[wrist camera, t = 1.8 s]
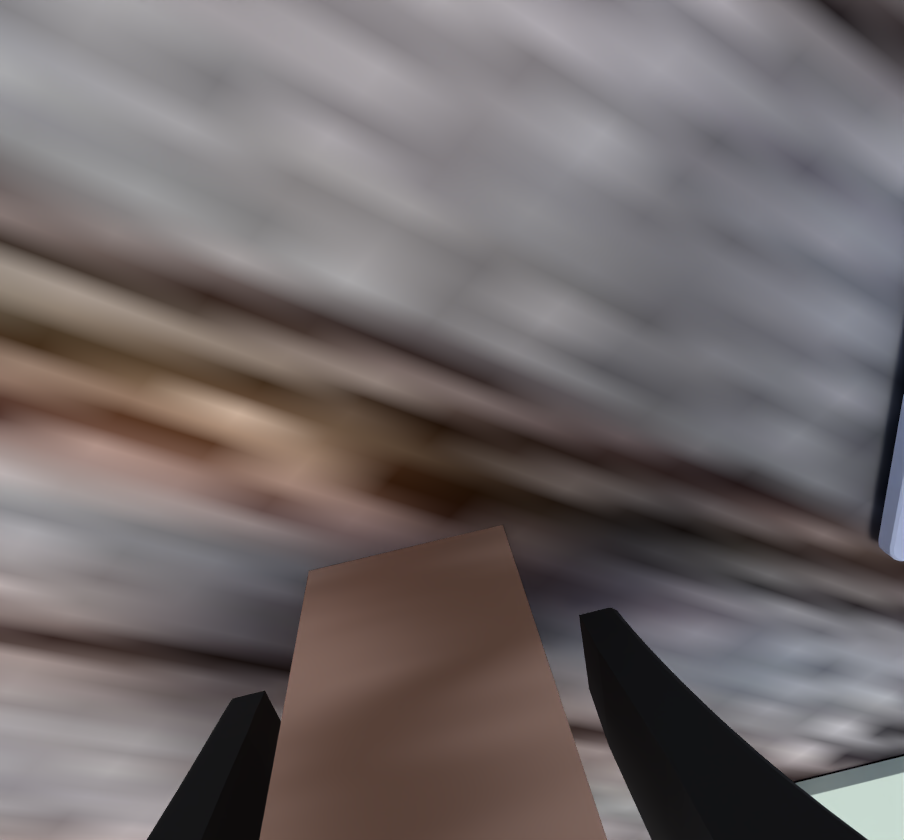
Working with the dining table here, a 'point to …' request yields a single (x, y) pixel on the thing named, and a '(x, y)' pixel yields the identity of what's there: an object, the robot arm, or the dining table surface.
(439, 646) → the rust block
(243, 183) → the dining table surface
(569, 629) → the dining table surface
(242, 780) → the robot arm
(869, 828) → the end mat
